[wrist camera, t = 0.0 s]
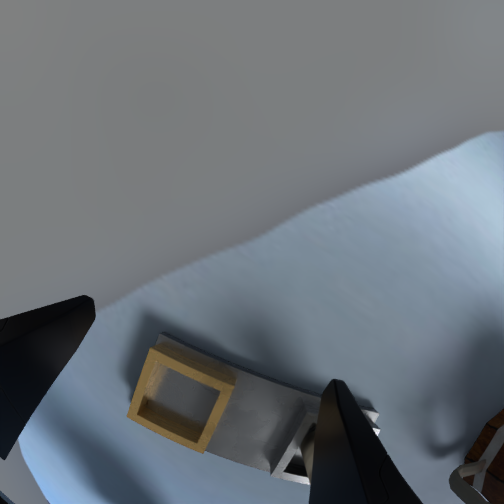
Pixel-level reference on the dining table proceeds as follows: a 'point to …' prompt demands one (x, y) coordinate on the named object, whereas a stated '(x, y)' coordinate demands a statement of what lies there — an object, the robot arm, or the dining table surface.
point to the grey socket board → (226, 409)
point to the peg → (308, 453)
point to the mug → (483, 467)
